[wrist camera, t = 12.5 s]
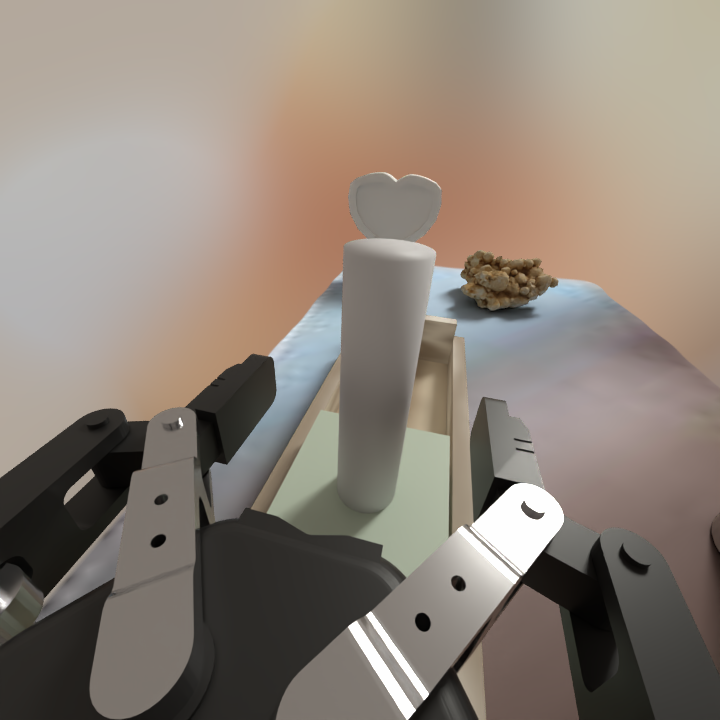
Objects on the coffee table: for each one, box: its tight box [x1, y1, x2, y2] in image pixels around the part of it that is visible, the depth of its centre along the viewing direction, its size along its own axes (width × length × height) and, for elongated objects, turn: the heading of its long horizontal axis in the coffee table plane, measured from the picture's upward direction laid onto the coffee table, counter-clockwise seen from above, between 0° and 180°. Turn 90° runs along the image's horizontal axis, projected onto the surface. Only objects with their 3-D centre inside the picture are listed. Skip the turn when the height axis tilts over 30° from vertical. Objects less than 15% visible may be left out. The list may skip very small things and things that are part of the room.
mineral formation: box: [460, 250, 558, 310], centre depth 56 cm, size 8×13×15 cm
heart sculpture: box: [348, 172, 442, 242], centre depth 60 cm, size 16×5×18 cm, turn 80°
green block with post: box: [267, 238, 450, 578], centre depth 15 cm, size 8×10×17 cm
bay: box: [251, 315, 486, 720], centre depth 24 cm, size 12×34×6 cm, turn 167°
